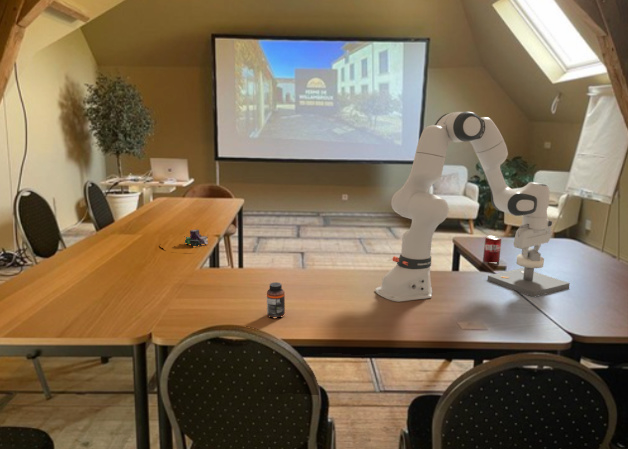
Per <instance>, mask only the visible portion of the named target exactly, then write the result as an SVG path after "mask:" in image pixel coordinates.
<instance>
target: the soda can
mask: <svg viewBox="0 0 628 449" xmlns="http://www.w3.org/2000/svg"><path fill="white" fill-rule="evenodd" d="M501 249H502V238H501V237H500V236H497V235H487V236H485V238H484V246H483V257H482V261H483V263H485V262H486V263H485V264H488V263H489V262H499V263H500V258H501Z"/></svg>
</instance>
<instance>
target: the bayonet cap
mask: <svg viewBox="0 0 628 449" xmlns="http://www.w3.org/2000/svg"><path fill="white" fill-rule="evenodd" d="M528 253H529V257H527V258H526V257H523V251H522V250H521V253H520V254H517V256H516V262H515V263H516V265H517V266H520V267H522V268H524V267H527V268H534V269H541V268H544V264H545V263H544V261H545V258H544V257H542V254H541V253H540V252H539V251H538V252H537V251H535V250H534V248H532V247H529V249H528Z"/></svg>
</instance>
